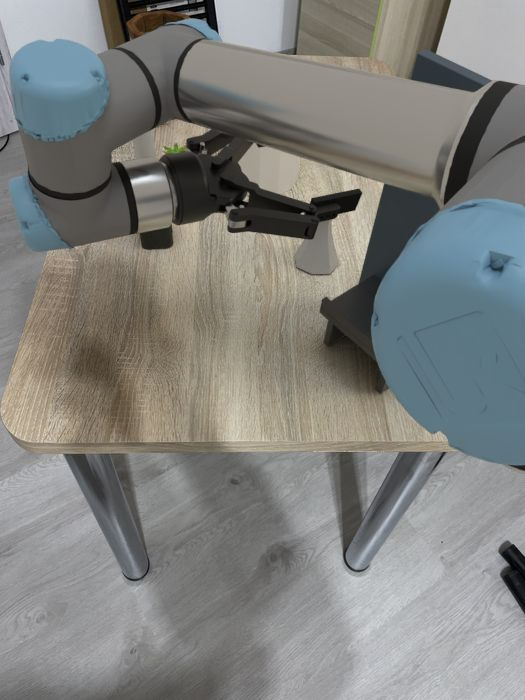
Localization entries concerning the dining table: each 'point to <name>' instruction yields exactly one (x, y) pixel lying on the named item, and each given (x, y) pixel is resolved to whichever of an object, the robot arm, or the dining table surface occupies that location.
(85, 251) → the dining table surface
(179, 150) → the fruit
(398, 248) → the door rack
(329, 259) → the flask
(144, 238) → the candle
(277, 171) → the container
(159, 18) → the mug
